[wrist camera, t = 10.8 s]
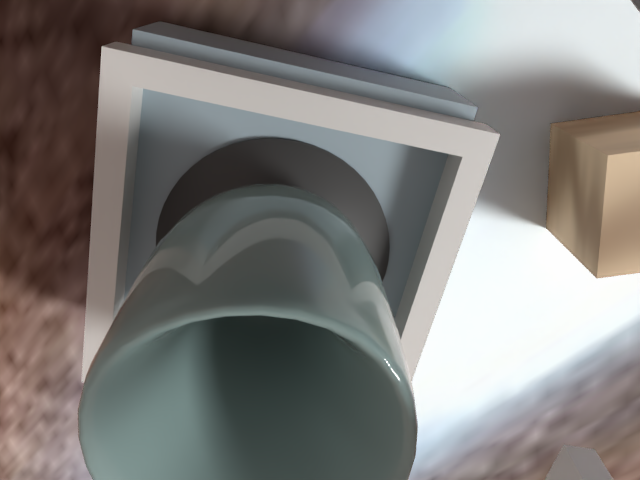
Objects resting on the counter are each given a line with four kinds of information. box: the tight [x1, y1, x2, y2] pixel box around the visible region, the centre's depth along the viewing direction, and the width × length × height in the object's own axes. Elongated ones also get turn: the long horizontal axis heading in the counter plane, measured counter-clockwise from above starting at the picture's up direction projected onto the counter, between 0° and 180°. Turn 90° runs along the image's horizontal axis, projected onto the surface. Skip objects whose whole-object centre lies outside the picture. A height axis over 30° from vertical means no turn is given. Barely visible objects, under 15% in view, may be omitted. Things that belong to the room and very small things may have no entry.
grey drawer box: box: [82, 21, 501, 382], centre depth 23 cm, size 15×13×6 cm
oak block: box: [546, 111, 640, 278], centre depth 23 cm, size 5×5×5 cm
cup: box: [78, 183, 418, 480], centre depth 17 cm, size 8×8×10 cm
